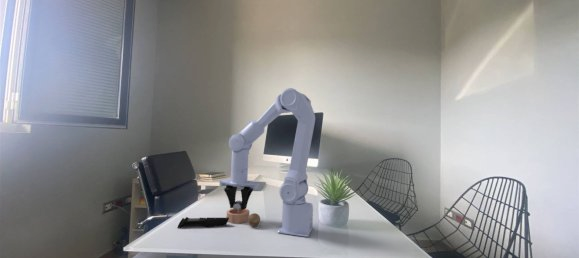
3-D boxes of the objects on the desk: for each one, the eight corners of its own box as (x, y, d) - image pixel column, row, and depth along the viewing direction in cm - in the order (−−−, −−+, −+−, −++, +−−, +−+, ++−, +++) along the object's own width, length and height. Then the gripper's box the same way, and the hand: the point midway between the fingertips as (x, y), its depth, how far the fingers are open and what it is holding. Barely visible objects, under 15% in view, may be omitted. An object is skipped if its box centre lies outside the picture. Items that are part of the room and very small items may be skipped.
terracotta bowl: (252, 216, 84) (252, 209, 84) (242, 224, 76) (242, 215, 76) (233, 214, 86) (234, 207, 86) (222, 221, 78) (222, 213, 78)
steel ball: (246, 211, 83) (246, 200, 83) (240, 214, 79) (240, 202, 79) (236, 209, 84) (236, 198, 84) (230, 213, 80) (230, 201, 80)
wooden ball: (262, 224, 76) (262, 212, 77) (257, 229, 73) (257, 216, 73) (251, 223, 77) (251, 211, 78) (245, 227, 74) (246, 214, 74)
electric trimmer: (227, 229, 73) (228, 219, 73) (176, 229, 71) (177, 219, 72) (229, 225, 77) (229, 215, 77) (180, 225, 75) (181, 215, 75)
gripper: (215, 169, 80) (213, 209, 79) (253, 171, 76) (252, 213, 75) (226, 167, 87) (224, 203, 86) (261, 169, 83) (260, 207, 82)
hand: (238, 208), depth 81 cm, fingers closed on steel ball, 4 cm apart
